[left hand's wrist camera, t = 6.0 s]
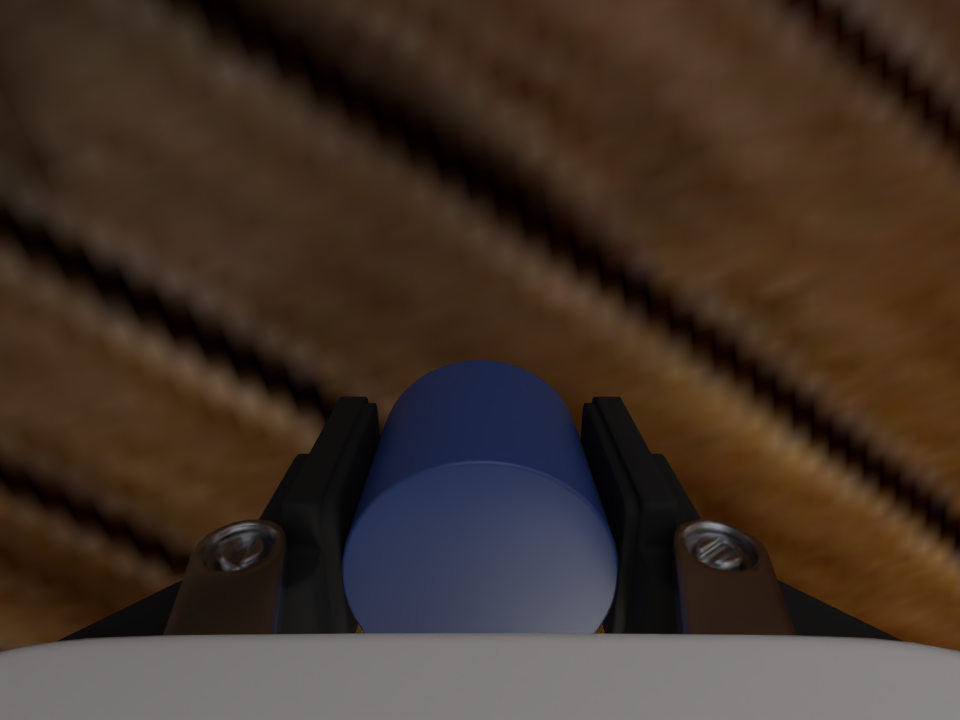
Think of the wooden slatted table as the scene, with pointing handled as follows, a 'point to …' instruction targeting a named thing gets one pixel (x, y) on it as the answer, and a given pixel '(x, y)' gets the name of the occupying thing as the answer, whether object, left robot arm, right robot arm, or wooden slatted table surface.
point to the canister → (480, 513)
